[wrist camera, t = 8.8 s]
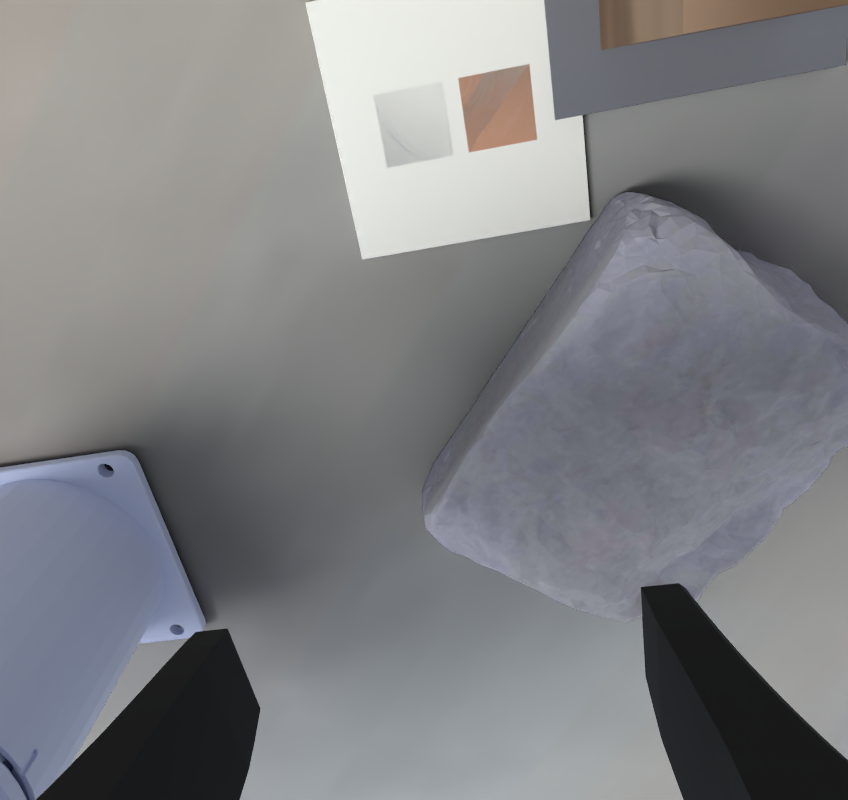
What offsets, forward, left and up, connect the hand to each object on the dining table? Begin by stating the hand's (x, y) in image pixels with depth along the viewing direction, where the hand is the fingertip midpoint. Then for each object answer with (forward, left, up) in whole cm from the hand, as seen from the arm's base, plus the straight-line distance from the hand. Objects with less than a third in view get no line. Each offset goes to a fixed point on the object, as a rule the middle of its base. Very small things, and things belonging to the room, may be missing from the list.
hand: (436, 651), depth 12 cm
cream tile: (+2, +8, -10) cm, 13 cm away
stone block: (+6, -2, -11) cm, 13 cm away
